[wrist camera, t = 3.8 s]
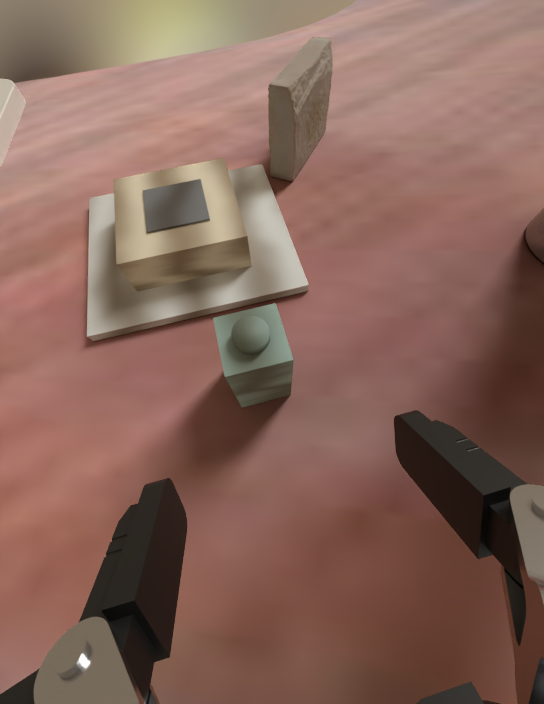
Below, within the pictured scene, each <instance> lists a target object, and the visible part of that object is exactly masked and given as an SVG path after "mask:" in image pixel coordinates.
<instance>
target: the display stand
mask: <svg viewBox="0 0 544 704" xmlns="http://www.w3.org/2000/svg"><path fill="white" fill-rule="evenodd" d="M308 287H309V284H308V282H307V279H306V276H305V274H304V271H303V269H302V266H301V263H300V261H299V258H298V256H297V253H296V250H295V248H294V245H293V243H292V240H291V238H290V235H289V232H288V230H287V227H286V225H285V222H284V219H283V217H282V214H281V212H280V209H279V206H278V204H277V201H276V199H275V196H274V193H273V191H272V188H271V186H270V183H269V180H268V178H267V175H266V173H265V170H264V167H263V165H262V164H259V165H254V166H249V167H244V168H239V169H234V170H229V171H228V170H227V166H226V163H225V160H224V158H221V159H216V160H211V161H206V162H201V163H196V164H190V165H185V166H180V167H175V168H170V169H165V170H160V171H155V172H149V173H144V174H139V175H134V176H129V177H124V178H119V179H114V193H113V194H108V195H103V196H98V197H93V198H90V199H89V253H88V308H87V337H88V338H89V339H91V340H92V341H97V340H101V339H106V338H110V337H114V336H118V335H123V334H127V333H131V332H135V331H140V330H144V329H148V328H152V327H157V326H161V325H165V324H169V323H174V322H178V321H182V320H187V319H191V318H195V317H199V316H204V315H208V314H212V313H216V312H221V311H225V310H229V309H233V308H238V307H242V306H246V305H250V304H255V303H259V302H263V301H267V300H272V299H276V298H280V297H284V296H289V295H293V294H297V293H302V292H306V291H308Z"/></svg>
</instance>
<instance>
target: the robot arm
mask: <svg viewBox="0 0 544 704" xmlns="http://www.w3.org/2000/svg"><path fill="white" fill-rule="evenodd" d="M525 235H526V241H527V243H528V246H529V248H530V249H531V250H532V252H533V253H534V254H535V255H536V256H537V257H538V258H539V259H540V260H541V261H542V262H544V208H543V209H542V210H541V211H540V213H539V214H538V215H537V216H536V217H535V218H534V219H533V220H532V221H531V222H530V223H529V225H528V226H527V228H526V233H525ZM394 430H395V446H396V454H397V457H398V459H399V462H400V464H401V465H402V467H403V468H404V469H405V471H406V472H407V473H408V474H409V476H410V477H411V478H412V479H413V480H414V482H415V483H416V484H417V485H418V487H419V488H420V489H421V490H422V491H423V493H424V494H425V495H426V496H427V497H428V499H429V500H430V501H431V502H432V504H433V505H434V506H435V507H436V508H437V510H438V511H439V512H440V513H441V514H442V516H443V517H444V518H445V519H446V521H447V522H448V523H449V524H450V525H451V527H452V528H453V529H454V530H455V531H456V533H457V534H458V535H459V536H460V538H461V539H462V540H463V541H464V542H465V544H466V545H467V546H468V547H469V549H470V550H471V551H472V552H473V553H474V555H475V556H476V557H477V558H478V559H480V558H483V557H486V556H490V555H494V556H495V557H496V559H497V560H498V561H499V562H500V563H501V576H502V582H503V588H504V595H505V601H506V607H507V613H508V619H509V625H510V631H511V637H512V643H513V649H514V658H515V683H516V695H517V703H518V704H544V486H541V485H534V484H527V483H525V482H524V481H523V480H521V479H520V478H519V477H517V476H516V475H515V474H513V473H512V472H511V471H510V470H508V469H507V468H506V467H504V466H503V465H502V464H500V463H499V462H498V461H497V460H495V459H494V458H493V457H491V456H490V455H489V454H487V453H486V452H485V451H484V450H482V449H481V448H480V449H479V448H478V446H477V445H476V444H474V443H473V442H472V441H471V440H468V439H467V437H465V436H464V435H463V434H462V433H460V432H459V431H458V430H456V429H455V428H454V427H452V426H449V425H447V424H444V423H442V422H440V421H437V420H436V421H430V420H429V419H428V418H427V417H426V416H424V415H423V414H422V413H421V412H419V411H417V410H415V411H411V412H408V413H404V414H400V415H397V416H395V418H394ZM186 534H187V518H186V513H185V510H184V507H183V505H182V503H181V500H180V498H179V496H178V493H177V491H176V489H175V486H174V484H173V482H172V480H171V479H170V478H167V479H163V480H160V481H156V482H152V483H149V484H146V485H145V486H144V488H143V491H142V494H141V496H140V499H139V502H138V504H135V505H131V506H130V507H129V509H128V510H127V511H126V513H125V514H124V515H123V517H122V518H121V519H120V521H119V522H118V525H117V527H116V530H115V532H114V535H113V537H112V542H110V545H109V547H108V550H107V552H106V557H105V558H104V560H103V563H102V565H101V568H100V570H99V573H98V575H97V578H96V580H95V583H94V586H93V588H92V591H91V593H90V596H89V598H88V601H87V603H86V606H85V608H84V611H83V614H82V616H81V618H80V621H79V623H77V624H76V625H74V626H73V627H72V628H70V629H69V630H68V631H67V632H66V633H65V634H64V635H63V636H62V637H61V638H60V639H59V640H58V641H57V642H56V643H55V645H54V646H53V647H52V649H51V650H50V651H49V653H48V654H47V656H46V657H45V659H44V661H43V663H42V665H41V667H40V668H39V669H38V670H37V671H35V672H34V673H32V674H31V675H29V676H28V677H26V678H25V679H23V680H22V681H20V682H19V683H17V684H16V685H14V686H13V687H11V688H9V689H8V690H6V691H5V692H3V693H2V694H0V704H160V703H159V700H158V698H157V696H156V694H155V692H154V689H153V687H152V685H151V684H150V683H151V677H152V671H153V665H154V662H156V661H160V660H163V659H166V658H169V657H170V651H171V644H172V637H173V629H174V622H175V615H176V607H177V600H178V593H179V585H180V578H181V571H182V563H183V556H184V549H185V541H186ZM417 704H499V703H495V702H491V701H485V700H481V698H480V696H479V694H478V693H477V691H476V689H475V687H474V686H473V684H472V682H468V683H465V684H463V685H460V686H457V687H454V688H451V689H449V690H446V691H443V692H440V693H437V694H435V695H432V696H429V697H426V698H423V699H421V700H420V701H419V702H418V703H417Z"/></svg>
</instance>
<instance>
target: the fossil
mask: <svg viewBox="0 0 544 704" xmlns="http://www.w3.org/2000/svg"><path fill="white" fill-rule="evenodd" d="M331 77H332V50H331V38H323V37H312V38H311V39H310V40H309V41H308V42H307V43H306V44H305V45H304V46H303V48H302V49H301V50H300V51H299V53H298V54H297V55H296V56H295V58H294V59H293V60H292V61H291V62H290V63H289V64H288V65H287V67H286V68H285V69H284V70H283V71H282V72H281V73H280V74H279V75H278V76H277V77H276V78H275V79H274V80H273V81H272V82H271V83H270V84H269V88H268V90H269V96H268V97H269V146H270V152H271V157H270V176H271V177H275V178H279V179H283V180H287V181H291V182H292V181H293V180H294V179H295V177H296V176H297V175H298V173H299V172H300V170H301V169H302V167H303V166H304V164H305V163H306V161H307V159H308V158H309V156H310V155H311V153H312V152H313V150H314V148H315V146H317V143H318V142H319V140H320V139H321V137H322V136H323V134H324V133H325V130H326V120H327V111H328V106H329V105H328V104H329V96H330V88H331Z"/></svg>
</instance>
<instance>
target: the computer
mask: <svg viewBox="0 0 544 704" xmlns="http://www.w3.org/2000/svg"><path fill="white" fill-rule="evenodd" d="M25 105H26V100H25V99H24V97H23V96H22V94H21V93H20V91H19V90H18V88H17V87H16V86H15V84H14V83H13V82H12V81H11V80H8V79H0V166H1V165H2V164H3V162H4V159H5V157H6V154H7V151H8V149H9V146H10V144H11V141H12V138H13V136H14V133H15V131H16V128H17V125H18V123H19V120H20V118H21V115H22V112H23V110H24V107H25Z"/></svg>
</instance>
